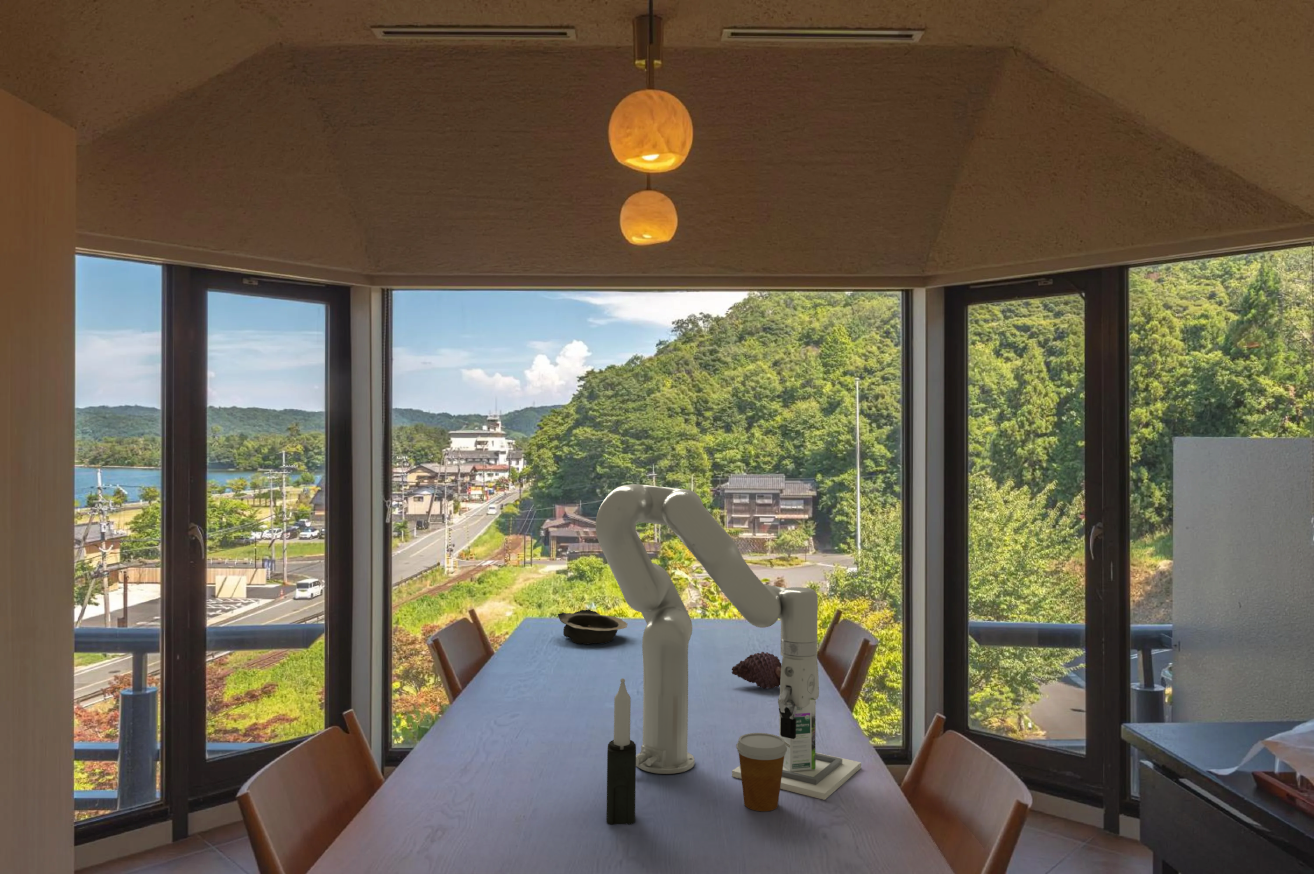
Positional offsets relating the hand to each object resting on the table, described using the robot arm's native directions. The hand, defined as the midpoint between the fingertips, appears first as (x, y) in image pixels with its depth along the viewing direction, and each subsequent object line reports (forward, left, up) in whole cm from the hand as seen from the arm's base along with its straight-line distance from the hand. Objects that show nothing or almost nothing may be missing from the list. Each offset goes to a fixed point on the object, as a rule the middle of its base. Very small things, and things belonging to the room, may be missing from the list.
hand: (798, 730), depth 175 cm
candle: (-39, +17, -9) cm, 43 cm away
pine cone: (+53, +34, -9) cm, 64 cm away
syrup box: (0, 0, -7) cm, 8 cm away
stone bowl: (+73, +110, -9) cm, 132 cm away
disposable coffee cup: (-19, -1, -9) cm, 21 cm away
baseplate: (0, 0, -8) cm, 8 cm away
